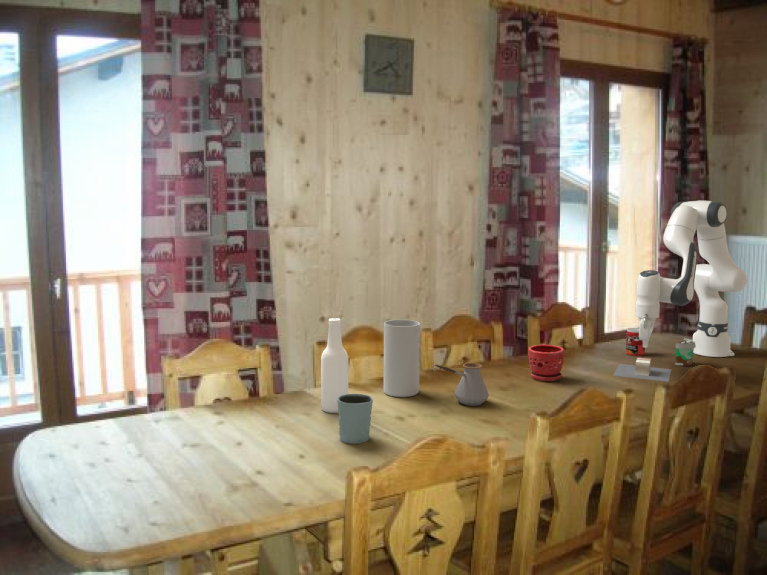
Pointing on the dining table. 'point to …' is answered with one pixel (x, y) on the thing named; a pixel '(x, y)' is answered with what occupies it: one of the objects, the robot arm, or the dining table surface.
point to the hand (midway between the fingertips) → (645, 346)
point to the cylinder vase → (401, 357)
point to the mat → (654, 374)
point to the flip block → (643, 366)
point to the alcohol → (333, 369)
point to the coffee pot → (469, 385)
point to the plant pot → (546, 362)
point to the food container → (684, 352)
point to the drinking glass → (354, 417)
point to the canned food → (634, 343)
